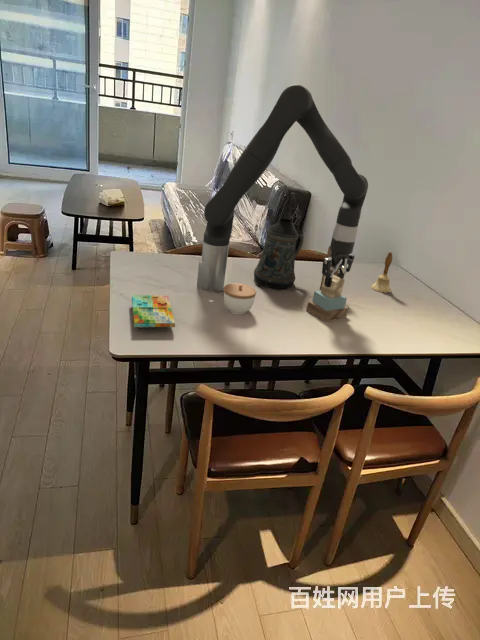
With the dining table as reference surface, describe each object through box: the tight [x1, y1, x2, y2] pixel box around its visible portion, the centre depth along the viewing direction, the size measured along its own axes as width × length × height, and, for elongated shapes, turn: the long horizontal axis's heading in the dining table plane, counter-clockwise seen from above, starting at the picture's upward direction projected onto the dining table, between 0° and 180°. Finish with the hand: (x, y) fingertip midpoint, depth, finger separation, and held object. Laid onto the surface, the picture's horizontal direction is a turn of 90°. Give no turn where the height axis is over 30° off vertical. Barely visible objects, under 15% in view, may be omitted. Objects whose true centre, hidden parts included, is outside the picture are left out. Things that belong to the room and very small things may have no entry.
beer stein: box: [253, 218, 304, 291], centre depth 185 cm, size 16×19×25 cm
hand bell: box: [370, 251, 393, 294], centre depth 194 cm, size 8×8×16 cm
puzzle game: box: [131, 294, 176, 328], centre depth 147 cm, size 12×5×20 cm
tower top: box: [311, 289, 347, 311], centre depth 165 cm, size 8×8×4 cm
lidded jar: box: [223, 282, 257, 315], centre depth 159 cm, size 11×11×9 cm
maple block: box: [321, 275, 345, 298], centre depth 163 cm, size 5×5×6 cm
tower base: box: [306, 300, 349, 323], centre depth 167 cm, size 10×10×4 cm
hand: (333, 284), depth 163 cm, fingers open, 5 cm apart
